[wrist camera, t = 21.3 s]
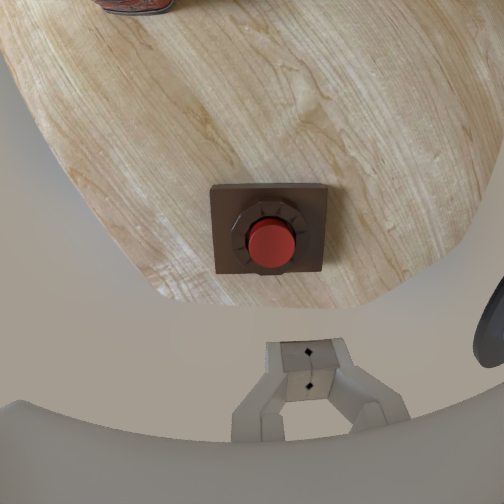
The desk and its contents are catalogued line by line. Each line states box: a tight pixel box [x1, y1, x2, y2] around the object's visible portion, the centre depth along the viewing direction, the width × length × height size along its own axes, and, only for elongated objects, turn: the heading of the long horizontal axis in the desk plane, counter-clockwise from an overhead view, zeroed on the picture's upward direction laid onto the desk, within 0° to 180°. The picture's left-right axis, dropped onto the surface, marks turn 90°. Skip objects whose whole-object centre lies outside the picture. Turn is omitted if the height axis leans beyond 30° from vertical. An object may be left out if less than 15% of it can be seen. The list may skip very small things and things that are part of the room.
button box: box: [210, 183, 327, 275], centre depth 25 cm, size 10×8×4 cm
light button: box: [249, 218, 295, 268], centre depth 23 cm, size 4×4×2 cm
